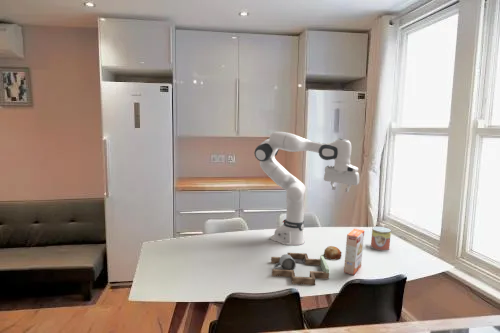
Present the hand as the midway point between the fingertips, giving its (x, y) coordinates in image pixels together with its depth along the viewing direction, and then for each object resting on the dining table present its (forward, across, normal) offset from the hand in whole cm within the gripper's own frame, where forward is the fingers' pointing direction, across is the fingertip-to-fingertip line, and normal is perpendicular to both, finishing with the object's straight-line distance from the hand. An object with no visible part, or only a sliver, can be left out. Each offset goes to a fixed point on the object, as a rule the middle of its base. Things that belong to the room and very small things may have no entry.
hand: (340, 190), depth 205 cm
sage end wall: (+39, +4, -26) cm, 47 cm away
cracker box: (+39, +15, -14) cm, 44 cm away
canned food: (+39, +17, +32) cm, 54 cm away
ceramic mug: (+40, -13, -37) cm, 56 cm away
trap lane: (+39, -6, -33) cm, 51 cm away
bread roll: (+40, -1, -3) cm, 40 cm away
